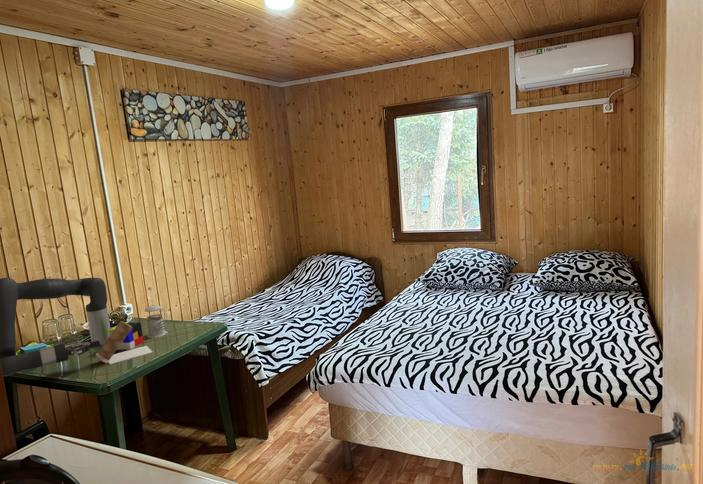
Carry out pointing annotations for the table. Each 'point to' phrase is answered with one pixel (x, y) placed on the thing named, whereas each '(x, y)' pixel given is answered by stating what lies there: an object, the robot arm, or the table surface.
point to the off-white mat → (129, 354)
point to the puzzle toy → (131, 336)
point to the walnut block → (113, 342)
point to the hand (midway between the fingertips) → (99, 343)
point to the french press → (153, 329)
